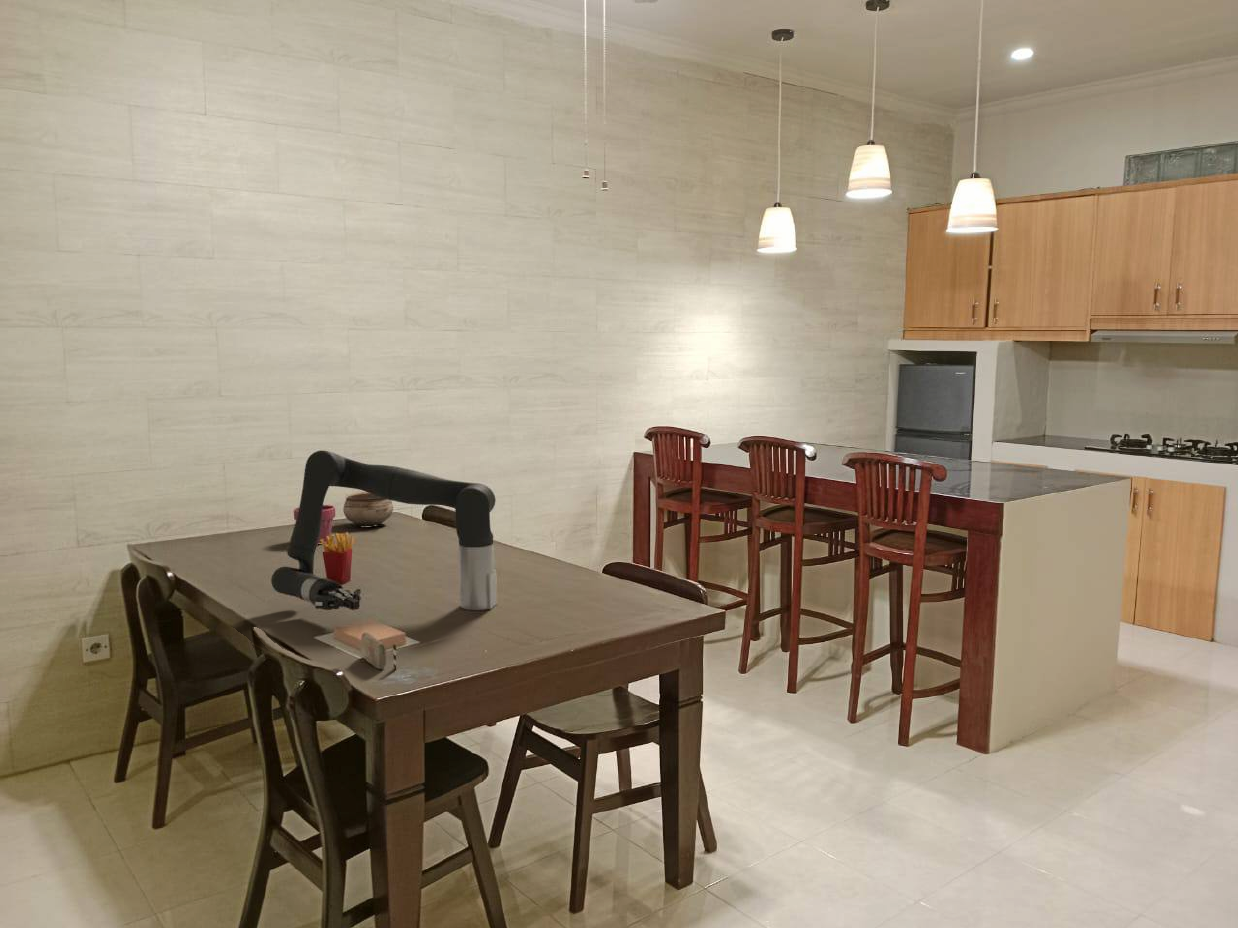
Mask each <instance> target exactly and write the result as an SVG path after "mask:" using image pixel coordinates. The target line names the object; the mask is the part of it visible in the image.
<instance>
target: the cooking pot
mask: <svg viewBox="0 0 1238 928" xmlns="http://www.w3.org/2000/svg"><path fill="white" fill-rule="evenodd" d="M344 498H345V501H344V505H343V511H342V512H343V514H344V516H345V518H346V519H347V521H349V522H351V523H353V524H355V525H357V526H359V527H360V526H374V525H378V526H379V525H381V524H382V523H384V522H385V521H387V520H388V519H389V518H390V517H391V516H392V514H393V511H394V504H393V502H392V500H388V499H385V498H382V497H378V496H376V495H373V494H371V493H368V492H366V491H361V492H359V491H358V492H352V493H349V494H345V495H344Z"/></svg>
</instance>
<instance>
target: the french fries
mask: <svg viewBox="0 0 1238 928" xmlns="http://www.w3.org/2000/svg"><path fill="white" fill-rule="evenodd" d="M349 534H350V533H349V532H344V535H343V534H341V533H340V534H339V533H338V532H335V533H334V534H332V535H331V536H330V538H329V536H326V539H327V542H328V543H325V541H324V540H323V539H320V541H321V543H322V544H321V545H322V546H323V548H324V551H322V557H323V563H324V569H325V578H328V579H330V580H333V581H336V582H338V583H339V584H340V585H341V586H342V585H345V584H347V583H349V582H351V574H352V563H353V562H352V561H353V560H352V559H353V548H352V547H353V544H354V541H355V537H354V536H351V537H350V535H349ZM334 538H336V542H335V541H334Z"/></svg>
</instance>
